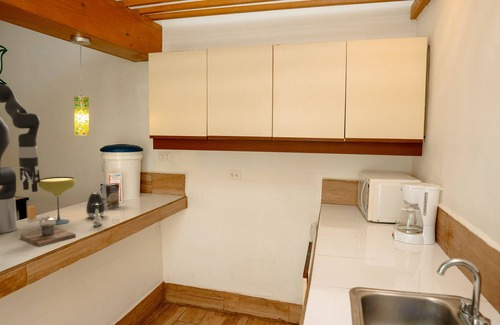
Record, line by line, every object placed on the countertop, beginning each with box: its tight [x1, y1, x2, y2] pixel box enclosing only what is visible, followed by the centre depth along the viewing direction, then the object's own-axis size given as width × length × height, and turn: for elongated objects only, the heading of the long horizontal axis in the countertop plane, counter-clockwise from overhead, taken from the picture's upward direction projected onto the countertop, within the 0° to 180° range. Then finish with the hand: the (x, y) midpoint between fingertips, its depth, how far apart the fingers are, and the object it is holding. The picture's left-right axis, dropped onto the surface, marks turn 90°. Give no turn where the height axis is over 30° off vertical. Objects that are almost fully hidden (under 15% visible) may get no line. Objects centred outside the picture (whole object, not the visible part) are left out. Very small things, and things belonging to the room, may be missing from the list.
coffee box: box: [101, 183, 120, 211], centre depth 233 cm, size 9×6×16 cm
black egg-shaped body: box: [85, 191, 106, 219], centre depth 211 cm, size 10×10×15 cm
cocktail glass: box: [37, 176, 76, 226], centre depth 198 cm, size 18×18×25 cm
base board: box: [19, 225, 77, 247], centre depth 172 cm, size 19×17×6 cm
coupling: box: [26, 205, 57, 228], centre depth 169 cm, size 7×12×11 cm, turn 146°
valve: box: [90, 203, 103, 227], centre depth 194 cm, size 7×7×12 cm
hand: (30, 190), depth 164 cm, fingers open, 8 cm apart
